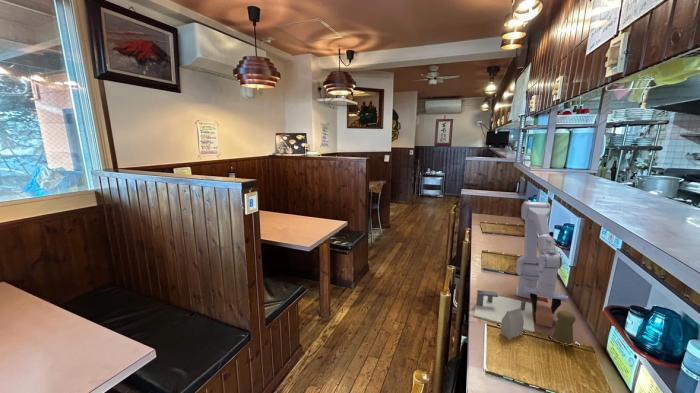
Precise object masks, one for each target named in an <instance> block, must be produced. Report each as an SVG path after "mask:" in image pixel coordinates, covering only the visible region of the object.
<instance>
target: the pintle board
mask: <svg viewBox="0 0 700 393" xmlns="http://www.w3.org/2000/svg"><path fill="white" fill-rule="evenodd" d="M476 292H477V294H476V304H475V307H474V313H473V317H474V318H478V319H482V320H485V321H489V322H492V323H496V324H502V319H503V317H504V316H505V315H506V313H507V311H510V310H513V309H516V308H519V307H520V308H521V312H522V316H523V319H524V325H523V331H525V330H526V331H525V332H529V331H530V332H529V333H533V332H535V323H534V314H533V313H534V312H533V303H532V302H527V301H525V300H518V299H514V298H510V297H505V296H501V295H499V294H498V293H497V291H493V290H491V291H489V290H482V289H481V290H477V291H476Z"/></svg>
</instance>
